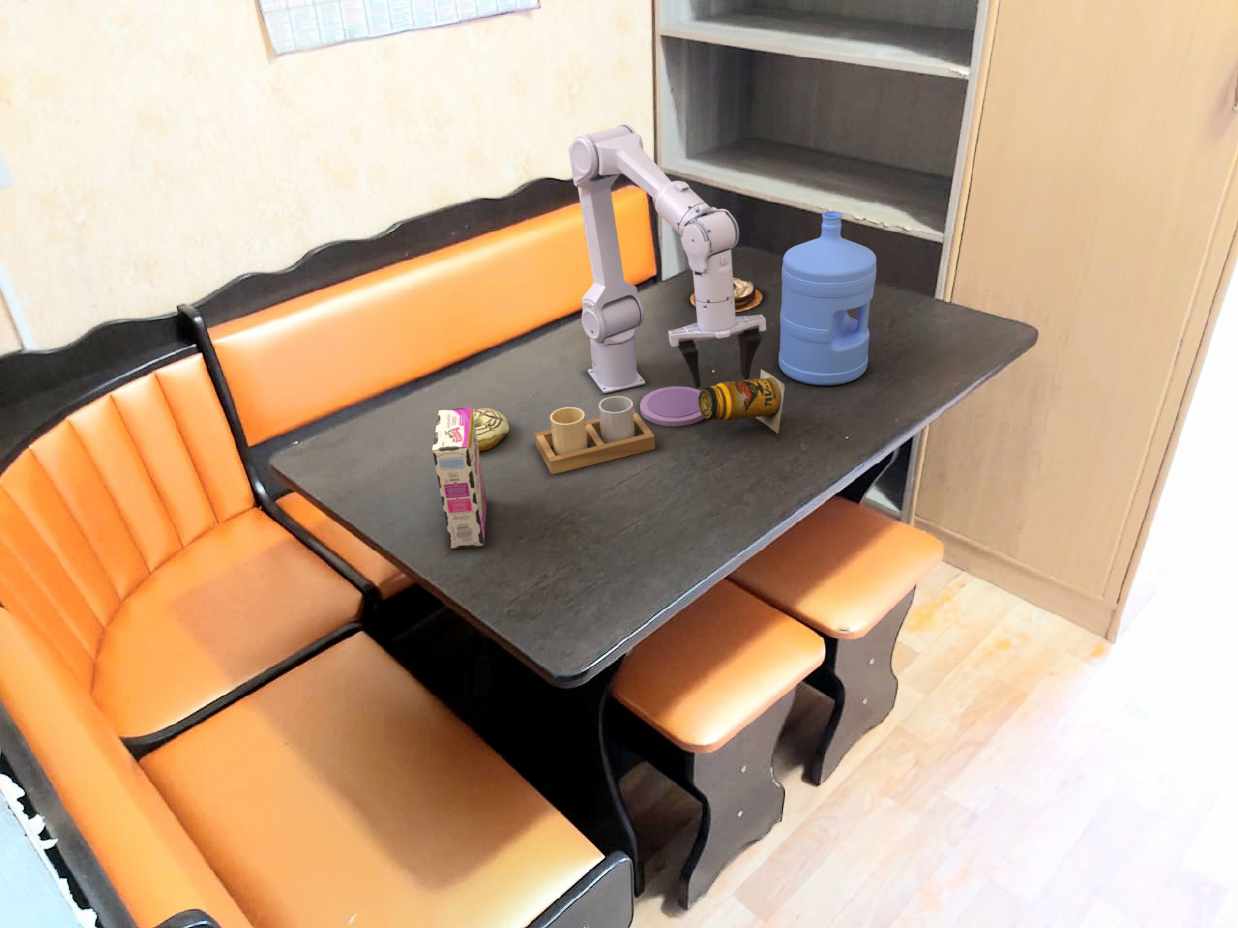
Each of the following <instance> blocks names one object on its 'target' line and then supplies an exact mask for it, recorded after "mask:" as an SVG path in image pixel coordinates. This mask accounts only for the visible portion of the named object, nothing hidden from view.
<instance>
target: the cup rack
mask: <svg viewBox="0 0 1238 928" xmlns="http://www.w3.org/2000/svg"><path fill="white" fill-rule="evenodd" d="M633 412H634V427H635V437H632V438H627V439H623V440H619V441H615V442H611V443H607V444H604V443H603V441H602V440H601V430H600V418H599V417H597V418H593V419H588V420H586V430H587V441H588V446H589V447H588V448H587V449H582V450H578V451H574V452H570V453H566V454H562V455H558V456H555V454H554V450H553V449H552V448H553V440H552V432H551V429H545V430H543V431H539V432H538V431H537V432H535V433H534V441H535V447H536V449H537V450H538V452H539V455H540V456H541V458H542V459H543V461H544V463H545V465H546V467H547V468H548V470H549V472H550V474H551V475H556V474H561V473H565V472H569V471H573V470H576V469H580V468H584V467H588V466H593V465H597V464H601V463H605V462H608V461H612V460H617V459H621V458H625V457H628V456H633V455H636V454H641V453H645V452H649V451H653V450H656V436H655V434H654V433H653V432H652V430H650V429H651V428H649V426H648V425H647V424H646V423H645V421H644V420H643V419H642V418H641V416H640V415H639V414H638V413H637V412H636V410H635V409H633ZM551 447H552V448H551Z"/></svg>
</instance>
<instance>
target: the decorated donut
mask: <svg viewBox="0 0 1238 928" xmlns="http://www.w3.org/2000/svg"><path fill="white" fill-rule="evenodd" d="M472 410H473V417H474V423H475V429H476V436H477V442H478V449H479V452H483V451H486V450H490V449H492V448H493V447H495V446H497V445H498V444H499V443H500V442H501V440H503V438H504V437H505V435H507V434H508V432H509V431H510V425H509V423H508V420H507V418H506V416H504V415H503V414H502V413H501V412H500V411H498V410H494V409H493V408H489V407H483V408H482V407H479V408H472Z"/></svg>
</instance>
